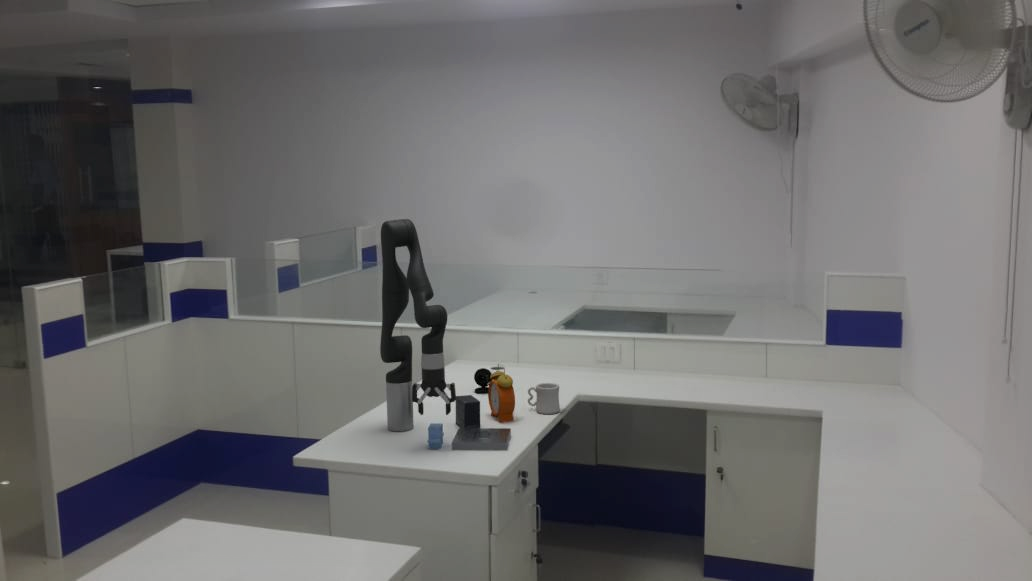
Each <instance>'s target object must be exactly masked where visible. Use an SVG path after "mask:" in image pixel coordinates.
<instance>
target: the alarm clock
mask: <svg viewBox="0 0 1032 581" xmlns="http://www.w3.org/2000/svg"><path fill="white" fill-rule="evenodd" d="M500 366H502V367H503V371H501V370H500V368H499V367H500ZM499 370H500V371H499ZM505 370H506V369H505V366H504V365H502V364H500V363H498V364H497V370H495V371H494V372H491V373H492V374H491V376H490V379H491V380H492V381H491V382H489V383H490V384H489V383H488V384H489V385H488V387H489V388H488V394H487V398H488V404H489V408H490V411H491V412H490V417H491V418H496V417H497V422H498V423H500V424H501V423H509V422H514V421H515V419H514V414H513V413H514V411H515V407H516V395H515V389H514V387H513V385H514V380H513V377H512V376H510V375H509V374H506V372H505Z"/></svg>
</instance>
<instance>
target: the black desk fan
mask: <svg viewBox="0 0 1032 581" xmlns="http://www.w3.org/2000/svg"><path fill="white" fill-rule="evenodd" d="M492 373H493V372H492V371H491V370H490V369H487V368H485V367H484V368H483V367H482V368H479V369H477V370H475V372H474V375H473V380H474V381H475V383H476V384H477V386H479V387H476V388H475V389H474V393H476V394H478V395H488V388H489V384H490V382H491V381H492V380H491V379H490V376H491V374H492Z"/></svg>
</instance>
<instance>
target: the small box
mask: <svg viewBox="0 0 1032 581" xmlns="http://www.w3.org/2000/svg"><path fill="white" fill-rule="evenodd" d="M454 402H455V425H456V426H457V427H459V428H481V401H480V400H479V399H477V398H476V397H475V396H473V395H472V394H468V395H466V394H465V395H456V400H455V401H454Z"/></svg>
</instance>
